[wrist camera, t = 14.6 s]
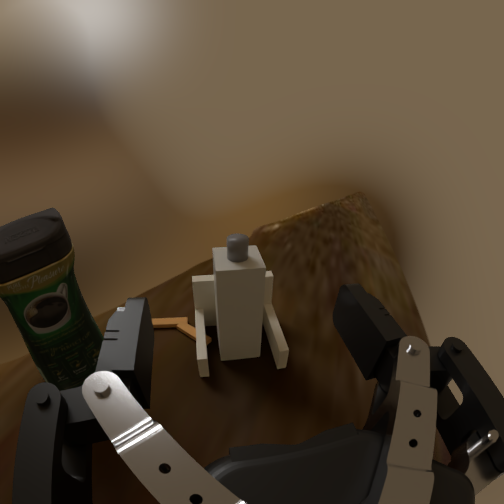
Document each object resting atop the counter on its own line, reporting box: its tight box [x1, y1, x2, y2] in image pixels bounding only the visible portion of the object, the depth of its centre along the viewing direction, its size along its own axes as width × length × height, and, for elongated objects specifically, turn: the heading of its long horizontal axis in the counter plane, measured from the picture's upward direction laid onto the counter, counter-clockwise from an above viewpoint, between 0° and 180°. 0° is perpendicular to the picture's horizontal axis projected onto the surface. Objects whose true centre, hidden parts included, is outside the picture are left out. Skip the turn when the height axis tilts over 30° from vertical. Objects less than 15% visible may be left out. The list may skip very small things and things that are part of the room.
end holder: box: [192, 271, 289, 377], centre depth 31 cm, size 10×9×7 cm
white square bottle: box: [213, 234, 266, 361], centre depth 29 cm, size 4×4×14 cm
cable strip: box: [152, 317, 211, 345], centre depth 33 cm, size 10×5×1 cm, turn 100°
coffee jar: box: [0, 208, 104, 391], centre depth 22 cm, size 10×8×19 cm
